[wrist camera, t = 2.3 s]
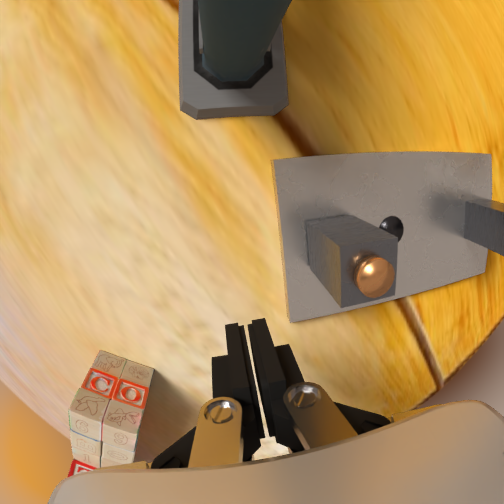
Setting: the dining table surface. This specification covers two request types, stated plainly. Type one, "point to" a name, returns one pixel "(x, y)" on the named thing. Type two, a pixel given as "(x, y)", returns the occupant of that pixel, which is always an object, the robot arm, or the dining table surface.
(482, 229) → the fixed leg
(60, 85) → the dining table surface
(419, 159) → the hole plate
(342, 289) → the block
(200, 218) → the dining table surface
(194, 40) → the curved pipe assembly
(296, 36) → the dining table surface
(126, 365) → the stack of blocks
